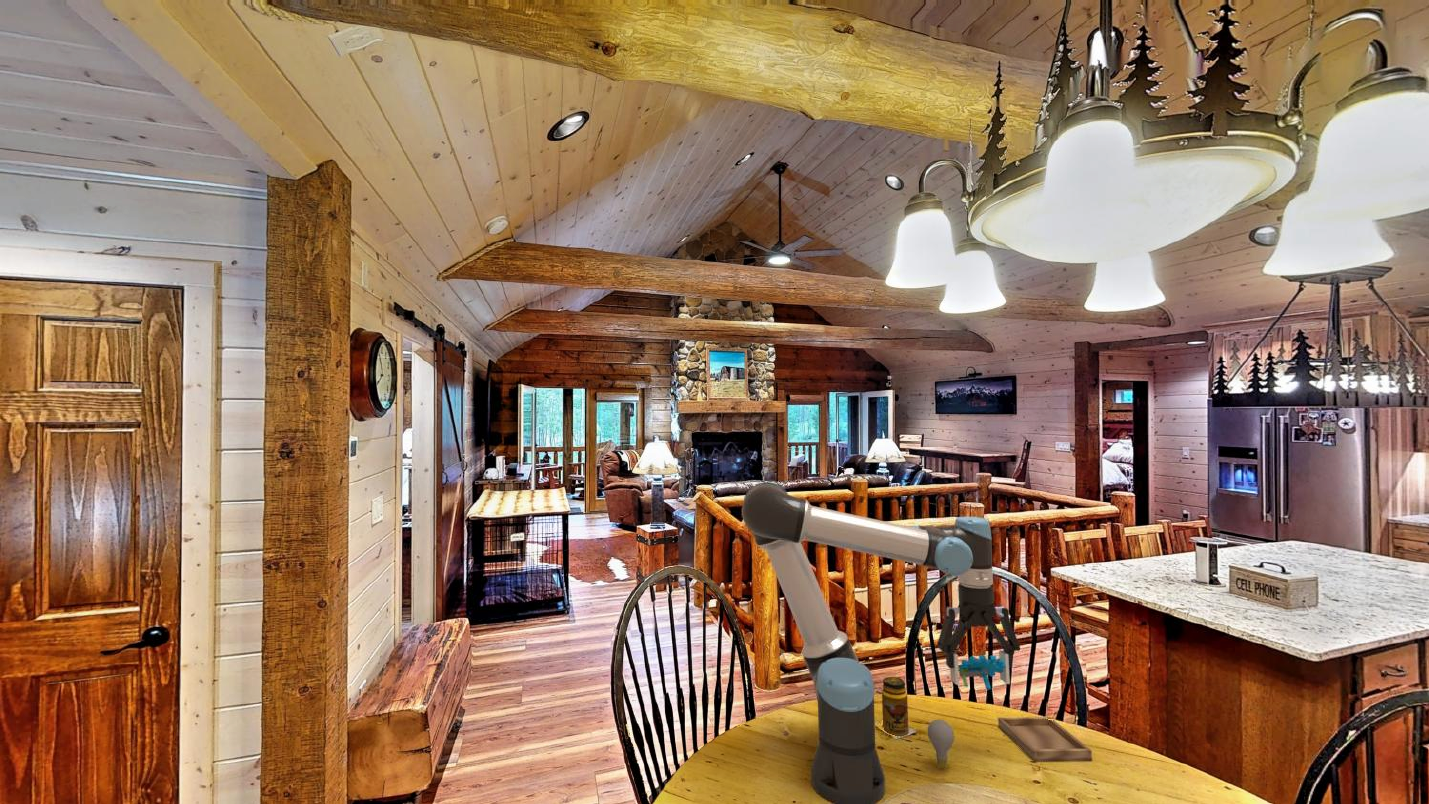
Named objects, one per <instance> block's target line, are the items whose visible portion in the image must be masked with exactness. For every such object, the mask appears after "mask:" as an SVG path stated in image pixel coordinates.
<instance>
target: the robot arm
mask: <svg viewBox="0 0 1429 804" xmlns="http://www.w3.org/2000/svg"><path fill="white" fill-rule="evenodd" d="M741 507H742V508H741V517H742V519H743V523H744V524H745V526H746V527H747V529H748V530H749V531H750V532H751V534H752V536H753V538H754V541H755V543H756V546H757V547H759V548H761V549H763V550H765V551H766V553H767V556H768V559H769V560H770V563H771V566H772V568H773V570H774V574H775V575H776V577H777V581H778V582H779V586H780V587H781V590H782V593H783V594H784V597H785V599H786V602H787V603H788V604H787V605H788V607H789V609H790V611H791V614H792V617H793V619H794V621H795V624H796V626H797V628H798V629H797V630H798V631H799V634H800V636H801V638H802V641H803V643H804V644H803V648H802V649H801V655H802V658H803V660H804V663H805V664H806V666H807V670H808V672H809V675H810V677H811V680H812V682H813V685H814V690H815V696H816V700H817V701H816V702H817V709H818V710H817V715H818V718H817V720H818V725H817V727H818V743H817V746H816V749H815V753H814V756H813V760H812V762H811V763H812V764H811V766H810V767H811V769H810V775H811V776H810V778H811V781H812V782H811V784H812V787H813V786H814V787H813V788H814V790H815V789H816V790H817V791H818V792H817V791H816V790H815V791H816V792H817V793H818V795H820V796H822V798H825V799H826V800H828V801H831V802H832V803H835V804H875V803H877V802H879V801H880V800H881V799H883V798H884V796H885V794H886V793H885V792H886V777H885V772H884V770H883V767H882V763H881V761H880V758H879V754H878V752H877V749H876V727H875V722H876V721H875V720H876V719H875V718H876V717H875V694H876V693H875V690H876V689H875V684H874V678H873V674H872V672H871V670H870V669H869V668H868V667H867V666H866V665H865V664H863V663H860V661H859V659H858V657H857V655H856V654H855V651H854V649H853V647H852V644H851V642H850V640H849V637H848V635H847V634H846V633H845V632H844V631H840V630H838V627H837V624H836V623H835V620H834V618H833V615H832V614H831V611H830V608H829V606H828V603H827V602H826V601H827V600H826V598H825V597H824V595H823V592H822V589H821V588H820V585H819V581H818V580H817V577H816V575H815V573H814V570H813V567H812V564H811V563H810V561H809V559H808V555H807V554H806V551H805V549H804V547H803V544H802V542H804V541H808V542H812V543H817V544H823V545H827V546H832V547H834V548H835V547H836V548H840V549H845V550H850V551H855V552H859V553H863V554H868V555H872V556H873V555H874V556H878V557H883V558H887V559H891V560H896V561H901V562H905V563H909V564H915V565H918V566H919V565H920V566H921V567H922V566H924V567H927V568H930V569H936V570H940V571H941V572H942V573H944V574H946V575H947V574H948V575H950V576H957V582H959V584H958V585H957V591H958V593H957V594H958V595H957V596H958V606H957V607H951V606H948V605H947V606H946V607H944V610H945V617H944V619H943V623H942V627H941V630H940V633H939V637H938V641H937V643H936V647H937V648H938V649H939V650H940V651H942V652H943V653H945V663H946V667H947V668H949V670H950V671H949V677H950V680H951V682H952V683H953V684H955V685H957V686H958V685H960V679H959V678H960V674H959V672H960V671H958V665H959V655H958V654H957V653H956V651H957V649H958V647H959V646H960V644H961V642H962V641H963V639H964V637H965V635H966V634H967V631H969V630H970V629H971V627H973V628H976V627H982V628H985V627H987V628H988V630H989V632H990V633H991V634H992V636H993V637H994V638H995V640H996V642H997V644H999V645H1000V647H1001V649H998V659H999V658H1001V659H1003V660H1004V663H1005V666H1006V668H1005V669H1002V670H1003V672H1002V673H999V676H1000V677H999V678H1000V680H1001V681H1002V682H1004V683H1005V684H1006V685H1010V683H1011V681H1010V678H1011V677H1010V668H1012V667H1013V656H1014V655H1015V651H1016V652H1019V651H1020V650H1021V645H1020V643H1019V641H1018V639H1017V635H1016V633H1015V630H1014V627H1013V626H1012V623H1011V621H1010V617H1009V613H1010V612H1009V609H1008V608H1006V607H1005V606H1003V605H998V606H995V604H994V603H995V593H994V587H993V586H992V585H994V572H993V559H992V558H993V557H992V556H993V554H992V550H993V549H992V539H993V538H992V532H991V525H990V521H988V519H987V518H983V517H979V516H959V517H956V518H955V520H954V521H955V522H954V525H951V526H950V525H947V526H940V525H939V526H935V525H933V526H932V525H916V526H915V525H913V526H908V525H902V524H899V523H898V524H897V523H893V522H888V521H884V520H881V519H880V520H879V519H875V518H871V517H865V516H861V515H857V514H852V513H847V512H842V511H838V510H833V509H829V508H824V507H818V506H814V505H811V504H810V502H809V501H808V500H807V499H805V498H804V499H803V498H799V497H795V496H793V495H790V494H789V493H788V492H787V491H786V489H784V487H782V486H781V485H779V484H778V483H774V482H772V481H771V482H768V481H764V482H760V483H757V484H755V485H753V486H751V487H750V488H749V489H748V491H747V492H746V494H745V495H744V498H743V501H742V505H741ZM958 615H960V619H958V621H957V622H958V623H957V626H956V627H955V626H954V625H955V623H956V618H957V617H958ZM995 615H996V616H998V619H999V622H1000V624H1001V626H1002V627H1001V628H1002V629H1003V632H1004V634H1005V637H1006V639H1007V640H1006V639H1005V637H1004V635H1003V634H1002V633H1001V631H1000V630H999V627H997V624H996V623H995V622H994V620H993V618H994V616H995ZM954 627H955V629H954V630H953V628H954ZM1002 649H1003V650H1002Z"/></svg>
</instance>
